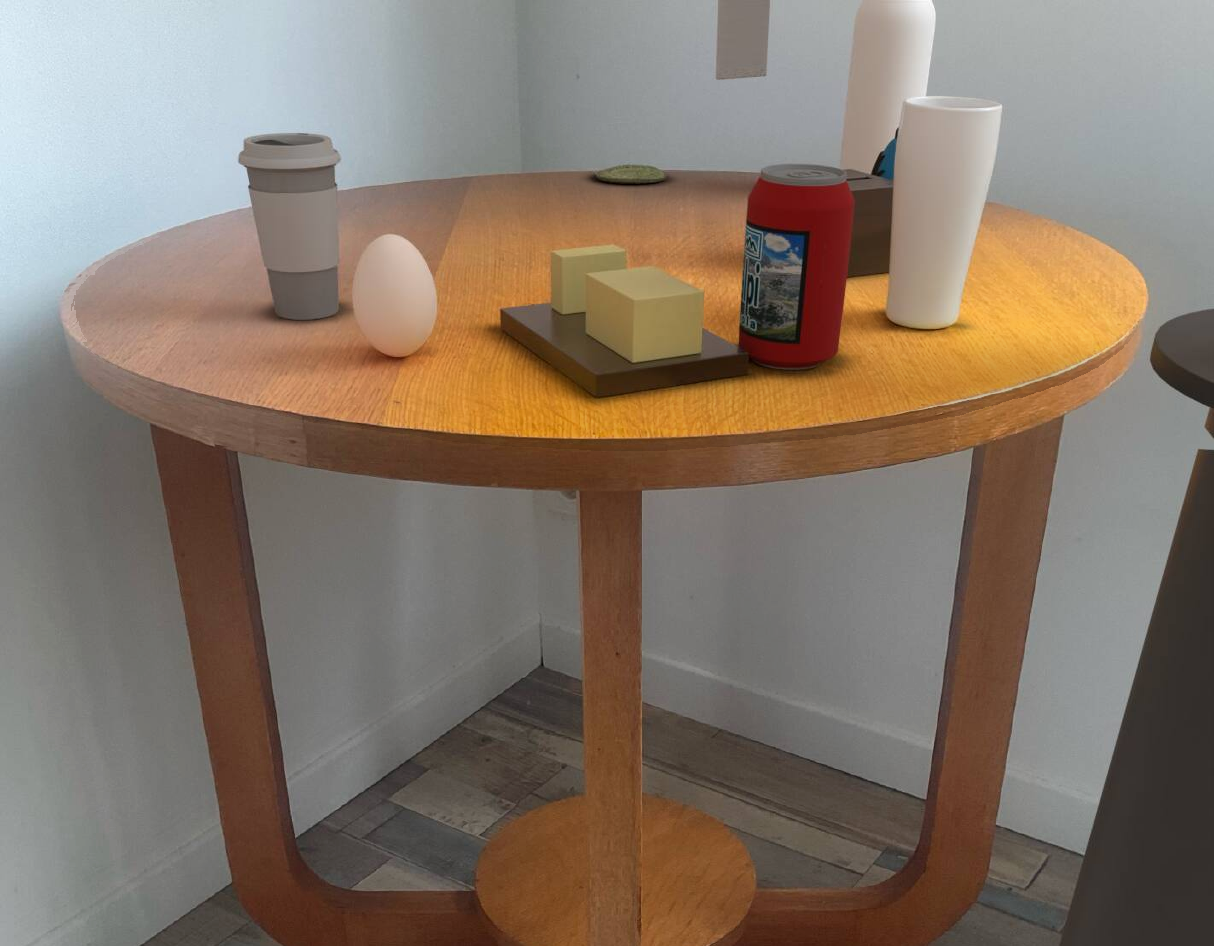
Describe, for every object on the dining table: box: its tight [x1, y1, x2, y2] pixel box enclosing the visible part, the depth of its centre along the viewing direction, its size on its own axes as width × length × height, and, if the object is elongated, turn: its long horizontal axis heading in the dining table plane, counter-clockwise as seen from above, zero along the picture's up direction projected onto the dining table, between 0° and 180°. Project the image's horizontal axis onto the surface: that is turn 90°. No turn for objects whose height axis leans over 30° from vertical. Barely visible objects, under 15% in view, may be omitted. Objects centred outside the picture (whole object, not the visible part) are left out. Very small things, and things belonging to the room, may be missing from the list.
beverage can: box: [737, 163, 855, 371], centre depth 79 cm, size 7×7×12 cm
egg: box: [351, 233, 438, 358], centre depth 79 cm, size 6×6×8 cm
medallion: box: [594, 164, 667, 185], centre depth 137 cm, size 8×8×1 cm
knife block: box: [844, 169, 893, 278], centre depth 102 cm, size 8×7×7 cm
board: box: [499, 302, 750, 398], centre depth 82 cm, size 16×11×2 cm
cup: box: [237, 132, 342, 321], centre depth 87 cm, size 7×7×12 cm
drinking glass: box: [885, 95, 1003, 330], centre depth 86 cm, size 7×7×15 cm
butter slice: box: [550, 244, 627, 315], centre depth 85 cm, size 2×5×4 cm, turn 116°
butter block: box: [586, 265, 705, 363], centre depth 78 cm, size 7×5×4 cm
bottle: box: [838, 0, 937, 174], centre depth 123 cm, size 8×8×30 cm
